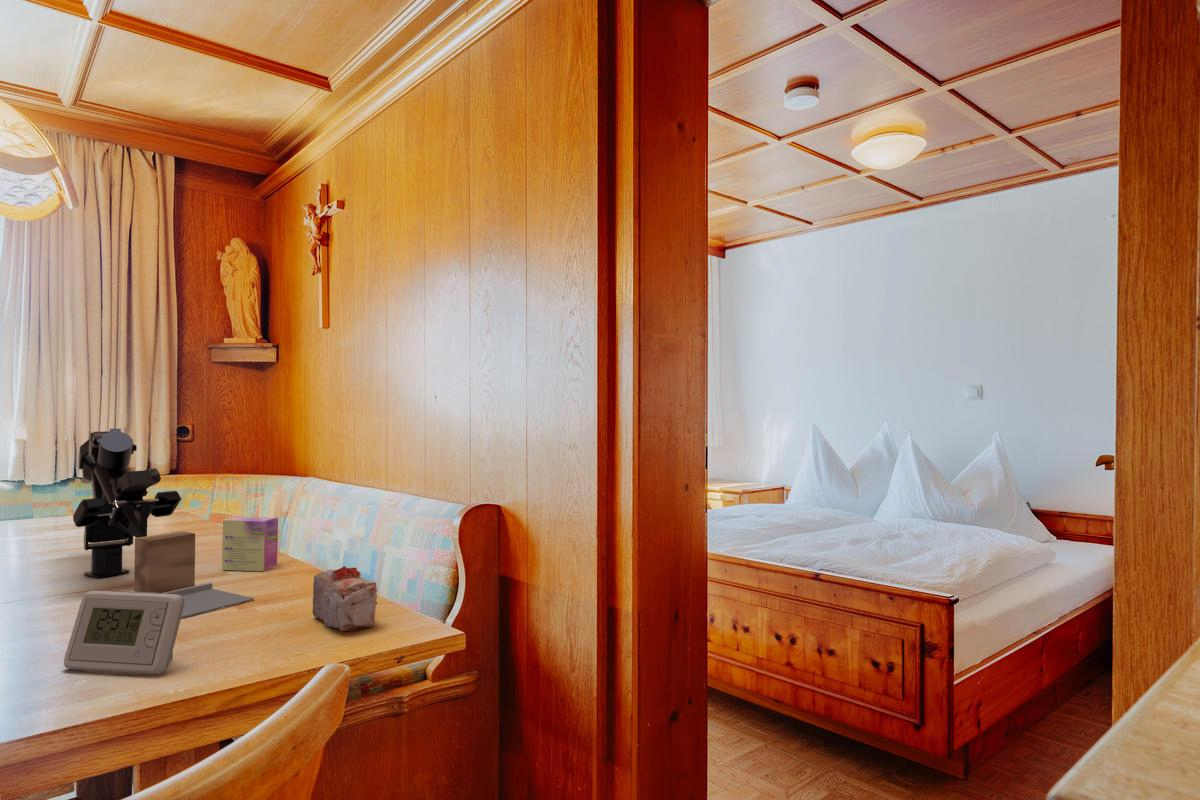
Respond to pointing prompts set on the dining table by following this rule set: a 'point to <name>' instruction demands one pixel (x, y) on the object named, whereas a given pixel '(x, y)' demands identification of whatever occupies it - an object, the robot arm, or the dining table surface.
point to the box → (249, 543)
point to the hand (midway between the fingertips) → (144, 538)
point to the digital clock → (124, 632)
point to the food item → (344, 599)
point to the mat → (206, 599)
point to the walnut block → (164, 562)
